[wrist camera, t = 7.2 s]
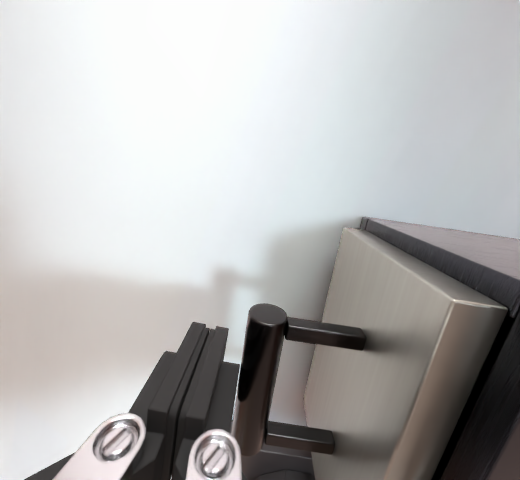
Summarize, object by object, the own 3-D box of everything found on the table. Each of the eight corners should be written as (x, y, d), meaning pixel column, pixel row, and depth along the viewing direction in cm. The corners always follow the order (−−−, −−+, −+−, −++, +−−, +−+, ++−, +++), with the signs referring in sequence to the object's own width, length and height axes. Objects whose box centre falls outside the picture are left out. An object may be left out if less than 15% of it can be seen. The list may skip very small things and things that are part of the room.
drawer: (238, 389, 15) (207, 591, 8) (263, 215, 13) (253, 270, 5) (511, 430, 15) (746, 675, 8) (600, 264, 12) (1108, 396, 5)
